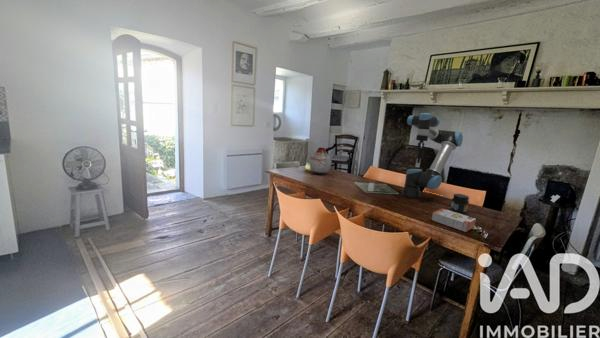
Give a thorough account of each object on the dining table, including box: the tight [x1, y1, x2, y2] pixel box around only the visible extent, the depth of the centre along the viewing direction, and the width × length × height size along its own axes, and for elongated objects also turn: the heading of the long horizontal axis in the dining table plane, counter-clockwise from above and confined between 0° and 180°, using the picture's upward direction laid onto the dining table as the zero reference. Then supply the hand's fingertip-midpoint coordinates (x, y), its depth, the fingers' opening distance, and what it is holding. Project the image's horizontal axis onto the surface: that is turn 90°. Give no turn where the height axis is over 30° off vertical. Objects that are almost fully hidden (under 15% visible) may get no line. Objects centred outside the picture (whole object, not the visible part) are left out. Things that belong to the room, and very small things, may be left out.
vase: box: [309, 147, 332, 176], centre depth 278 cm, size 23×23×28 cm
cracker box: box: [431, 208, 477, 233], centre depth 167 cm, size 14×6×21 cm
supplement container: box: [450, 193, 470, 215], centre depth 191 cm, size 10×10×12 cm
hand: (417, 167), depth 194 cm, fingers closed
